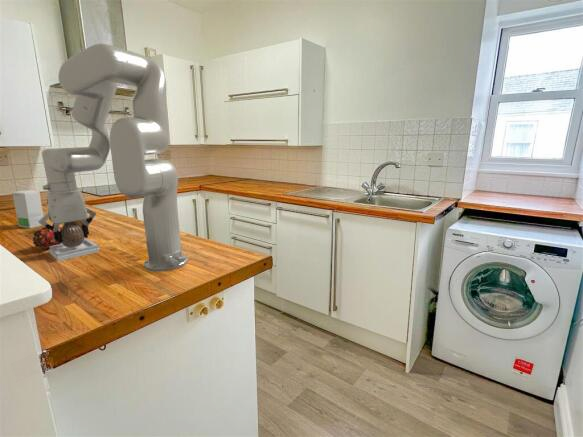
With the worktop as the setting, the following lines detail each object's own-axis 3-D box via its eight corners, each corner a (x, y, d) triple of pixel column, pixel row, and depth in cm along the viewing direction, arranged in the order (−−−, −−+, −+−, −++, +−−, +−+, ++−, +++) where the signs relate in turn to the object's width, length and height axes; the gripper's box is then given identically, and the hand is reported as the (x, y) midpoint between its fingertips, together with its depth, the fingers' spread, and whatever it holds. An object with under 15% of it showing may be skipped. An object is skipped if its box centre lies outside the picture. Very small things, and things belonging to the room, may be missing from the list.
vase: (81, 241, 114) (77, 217, 111) (89, 245, 109) (84, 220, 107) (58, 246, 108) (53, 221, 106) (65, 250, 104) (60, 224, 102)
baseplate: (99, 251, 110) (98, 245, 109) (57, 261, 101) (56, 254, 101) (89, 244, 118) (88, 238, 117) (49, 252, 109) (48, 246, 109)
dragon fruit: (39, 258, 108) (58, 251, 120) (60, 242, 109) (77, 237, 121) (20, 239, 107) (41, 234, 118) (41, 223, 107) (60, 219, 119)
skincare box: (18, 226, 142) (10, 192, 138) (34, 223, 148) (27, 189, 144) (30, 228, 139) (23, 193, 136) (46, 224, 145) (39, 190, 142)
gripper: (31, 192, 95) (43, 248, 100) (96, 185, 108) (104, 236, 112) (27, 189, 100) (38, 243, 105) (89, 183, 113) (97, 232, 117)
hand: (72, 239), depth 108 cm, fingers closed on vase, 7 cm apart
